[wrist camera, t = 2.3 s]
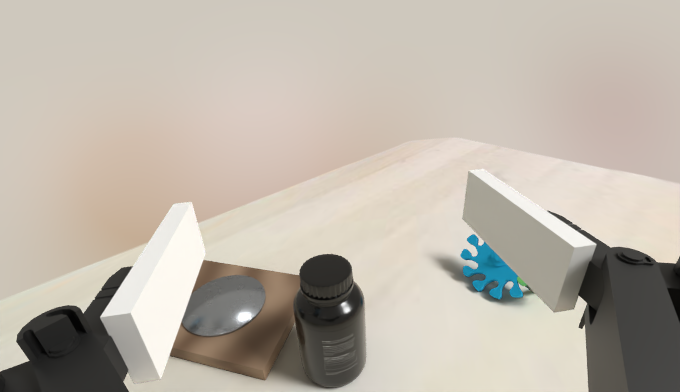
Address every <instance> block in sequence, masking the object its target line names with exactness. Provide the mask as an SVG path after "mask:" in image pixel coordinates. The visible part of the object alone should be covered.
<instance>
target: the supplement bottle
mask: <svg viewBox="0 0 680 392" xmlns="http://www.w3.org/2000/svg"><path fill="white" fill-rule="evenodd" d="M299 276H300V288H299V289H298V291H297V293H296V295H295V297H294V301H293V310H294V317H295V323H296V330H297V336H298V342H299V348H300V354H301V360H302V365H303V368H304V371H305V373H306V374H307V376H308V377H309V378H310V379H311V380H312V381H314V382H315V383H317V384H319V385H321V386H325V387H340V386H343V385H346V384H348V383H350V382H352V381H353V380H354V379H356V378H357V377H358V376H359V374H360V373H361V372H362V370H363V368H364V365H365V362H366V331H365V304H364V296H363V293H362V291H361V289H360V287H359V286H358V285H357V284H356V283H355V282H354V281H353V276H352V267H351V265H350V263H349V262H348V260H346V259H345V258H343V257H342V256H338V255H334V254H323V255H318V256H315V257H313V258H310V259H309V260H307V261H306V262H305V263H304V264H303V265H302V266H301V269H300V273H299Z"/></svg>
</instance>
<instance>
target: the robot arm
mask: <svg viewBox="0 0 680 392" xmlns="http://www.w3.org/2000/svg"><path fill="white" fill-rule="evenodd" d="M463 220H464V221H465V222H466V223H467V224H468V225H469V226H470V227H471V228H472V229H473V230H474V231H475V232H476V233H477V234H478V235H479V236H480V237H481V238H482V239H483V240H484V241H485V243H486V244H487V245H488V246H489V247H490V248H491V249H492V250H493V251H494V252H495V253H496V254H497V255H498V256H499V257H500V258H501V259H502V260H503V261H504V262H505V263H506V264H507V265H508V266H509V267H510V268H511V269H512V270H513V271H514V272H515V273H516V274H517V275H518V276H519V277H520V278H521V279H522V280H523V281H524V282H525V283H526V284H527V285H528V286H529V287H530V288H531V290H532V291H533V292H534V293H535V294H536V295H537V296H538V297H539V298H540V299H541V300H542V301H543V302H544V303H545V304H546V305H547V306H548V307H549V308H550V309H551V310H552V311H553V312H560V311H566V310H572V309H574V307H575V304H576V302H577V299H578V296H580V297H581V298H582V299H583V300H585V301H586V302H587V306H586V308H585V311H584V314H583V316H582V319H581V322H580V324H579V327H578V328H581V329H582V328H583V326H584V325H585V332H586V350H587V369H588V387H589V392H680V257H679V259H678V261H677V263H676V264H673V263H658V262H656V261H655V260H654V259H653V258H651V257H650V256H648V255H646V254H644V253H642V252H640V251H637V250H633V249H630V248H624V247H612V248H610V247H609V246H607V245H606V244H604V243H603V242H601V241H600V240H598V239H596V238H595V237H593V236H592V235H590V234H589V233H587V232H586V231H584V230H581V228H579V227H578V226H576V225H575V224H572V222H570V221H569V220H567V219H566V218H564V217H562V216H560V215H558V214H555V213H553V212H550V211H546V210H544V209H543V208H541V207H540V206H538V205H537V204H535V203H534V202H532V201H531V200H529V199H528V198H526V197H525V196H523V195H522V194H520V193H519V192H517V191H516V190H514V189H513V188H511V187H510V186H508V185H507V184H505V183H504V182H502V181H501V180H499V179H498V178H496V177H495V176H493V175H492V174H490V173H489V172H487V171H486V170H484V169H478V170H469V172H468V180H467V188H466V195H465V203H464V211H463ZM205 254H206V251H205V247H204V244H203V240H202V237H201V233H200V230H199V226H198V223H197V219H196V216H195V212H194V209H193V205H192V202H186V203H177V204H173V206H172V207H171V209H170V210H169V212H168V214H167V215H166V216H165V218H164V219H163V221H162V223H161V224H160V226H159V227H158V229H157V230H156V232H155V233H154V235H153V237H152V238H151V240H150V241H149V243H148V244H147V246H146V247H145V249H144V250H143V252H142V253H141V255H140V256H139V258H138V260H137V261H136V263H135V264H134V266H132V267H124V268H121V269H120V270H119V271H117V272H116V273H115V274H114V275H112V276H111V277H110V278H109V279H108V280H107V282H106V283H105V284H104V286H103V287H102V290H101V291H99V293H98V294H97V296H96V297H95V300H93V301H92V303H91V304H90V305H89V307H88V308H87V310H86V311H85V312H84V314H83V313H82V311H81V309H80V308H78V307H77V306H69V305H67V306H62V307H57V308H54V309H52V310H49V311H47V312H44V313H43V314H41V315H39V316H37V317H36V318H34V319H32V320H31V321H30V322H29V323H28V324H26V325H25V326H24V327H23V328H22V329H21V331H20V332H19V333H18V335H17V341H16V342H17V343H18V345H19V346H20V348H21V349H22V350H23V352H24V353H25V355H26V356H27V358H28V359H29V360H30V361H28V362H25V363H23V364H20V365H17V366H14V367H12V368H9V369H6V370H3V371H1V372H0V392H129V391H128V389H127V388H126V386H125V384H124V383H123V381H124V379H125V377H126V374H127V372H128V373H129V375H130V377H131V379H132V381H133V383H134V384H138V383H144V382H150V381H156V380H161V378H162V375H163V372H164V369H165V367H166V364H167V361H168V358H169V355H170V352H171V350H172V347H173V344H174V341H175V338H176V336H177V333H178V330H179V327H180V324H181V321H182V319H183V316H184V313H185V310H186V307H187V305H188V302H189V299H190V296H191V293H192V290H193V288H194V285H195V282H196V279H197V276H198V274H199V271H200V268H201V265H202V262H203V259H204V257H205Z"/></svg>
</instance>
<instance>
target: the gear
mask: <svg viewBox="0 0 680 392" xmlns="http://www.w3.org/2000/svg"><path fill="white" fill-rule="evenodd" d="M467 241H468V242H469V243H470V244H471V245H474V246H475V247H476V249H477V251H478V255H477V256H475V257H473V256H472V255H471V253H470V252H469V251H468V250H467V249H464V250H463V251H462V253H461V257H462V258H463V259H464V260H472V261H475V262H476V263H478V268H477V269H472V268H470V267H469V266H464V267H463V273H464V275H465V276H467V277H470V276H472V275H474V274H484V275H485V276H486V278H485V280H483V281H480V280H475V281H473V283H472V284H473V286H474V287H475V289H476V290H477V291H479V292H480V291H482V290H483V289H484V287H485V286H486V285H487V284H489V283H490V282H493V281H498V287H496V288H493V289H491V290H490V293H489V294H490V295H491V296H493V297H494V298H496V299H499V300H500V299H501V298H502V290H503V287H504V285H505V284H506V283H507V282H508V281H512V282H513V283H514V285H513V287H512V288H511V289H510V295H511V296H512V297H514V298H520V297H523V292H522V291H521V289H520V288H519V284H518V282H519V283H520V284H521V285H522V286H525V287H527V288H528V289H529V290H531V288H530V287H529V286H528V285H527V284H526V283H525V282H524V281H523V280H522V279H521V278H520V277H519V276H518V275H517V274H516V273H515V272H514V271H513V270H512V269H511V268H510V267H509V266H508V265H507V264H506V263H505V262H504V261H503V260H502V259H501V258H500V257H499V256H498V255H497V254H496V253H495V252H494V251H493V250H492V249H491V248H490V247H489V246H488V245H487V244H486V243H485V241H484V244H483V245H482V246H479V245H478V238H477V236H476V235H474V234H473V235H471V236H470V237H468V238H467ZM531 291H532V290H531ZM532 292H533V291H532Z"/></svg>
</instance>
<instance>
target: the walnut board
mask: <svg viewBox="0 0 680 392" xmlns="http://www.w3.org/2000/svg"><path fill="white" fill-rule="evenodd" d="M299 288H300V276H299V275H293V274H286V273H280V272H274V271H268V270H262V269H255V268H249V267H243V266H237V265H231V264H224V263H218V262H212V261H206V260H203V262H202V265H201V268H200V271H199V274H198V276H197V279H196V282H195V285H194V288H193V290H192V293H191V296H190V299H189V302H188V305H187V307H186V310H185V313H184V316H183V319H182V321H181V324H180V327H179V330H178V333H177V336H176V338H175V341H174V344H173V347H172V350H171V352H170V356H174V357H178V358H182V359H186V360H189V361H193V362H197V363H201V364H205V365H209V366H212V367H216V368H220V369H224V370H228V371H232V372H235V373H239V374H243V375H247V376H251V377H255V378H258V379H262V380H266V378H267V376H268V374H269V372H270V370H271V368H272V366H273V364H274V362H275V360H276V358H277V356H278V354H279V353H280V351H281V349H282V347H283V345H284V343H285V341H286V339H287V337H288V335H289V333H290V331H291V329H292V327H293V325H294V323H295V317H294V310H293V301H294V297H295V295H296V293H297V291H298V289H299Z"/></svg>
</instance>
